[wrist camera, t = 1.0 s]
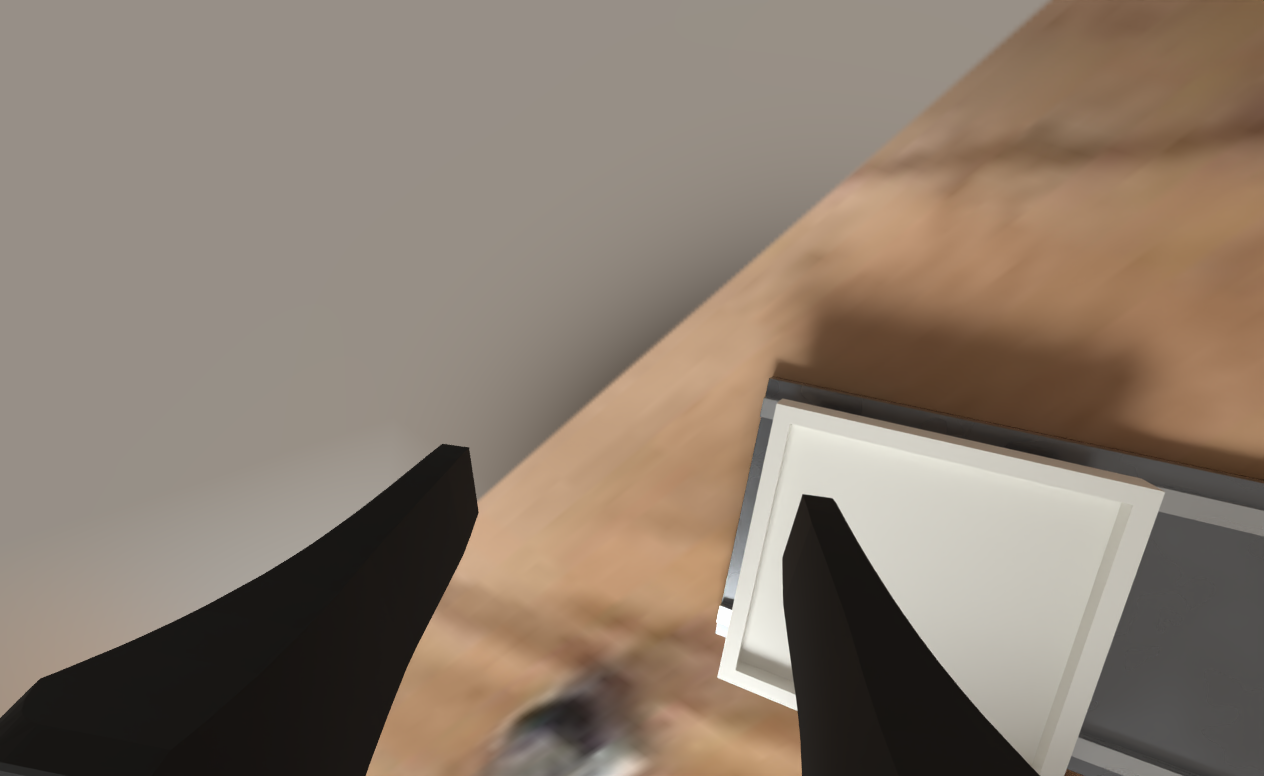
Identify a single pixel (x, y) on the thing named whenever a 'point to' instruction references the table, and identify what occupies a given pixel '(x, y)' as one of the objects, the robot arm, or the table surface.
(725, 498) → the table surface
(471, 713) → the table surface
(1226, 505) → the dark grey tray
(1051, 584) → the white recessed tray
